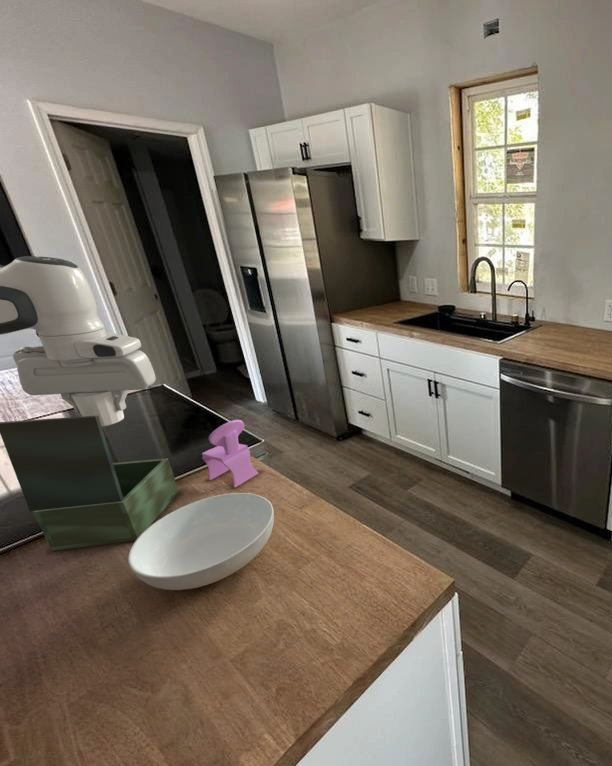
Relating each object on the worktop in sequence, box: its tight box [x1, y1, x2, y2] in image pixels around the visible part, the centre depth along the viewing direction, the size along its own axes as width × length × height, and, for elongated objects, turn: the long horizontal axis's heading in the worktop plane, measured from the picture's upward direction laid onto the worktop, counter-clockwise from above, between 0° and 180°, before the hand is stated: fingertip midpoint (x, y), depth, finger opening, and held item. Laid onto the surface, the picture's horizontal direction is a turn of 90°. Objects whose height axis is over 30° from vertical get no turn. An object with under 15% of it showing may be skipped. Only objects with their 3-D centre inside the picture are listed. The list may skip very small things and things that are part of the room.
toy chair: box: [201, 419, 259, 488], centre depth 96 cm, size 8×9×15 cm
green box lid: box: [0, 416, 124, 512], centre depth 72 cm, size 17×14×1 cm
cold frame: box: [32, 457, 180, 552], centre depth 83 cm, size 16×14×9 cm
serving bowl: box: [127, 492, 275, 591], centre depth 74 cm, size 21×21×7 cm
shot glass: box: [70, 391, 125, 427], centre depth 83 cm, size 7×7×7 cm
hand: (102, 410), depth 83 cm, fingers closed on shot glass, 5 cm apart
